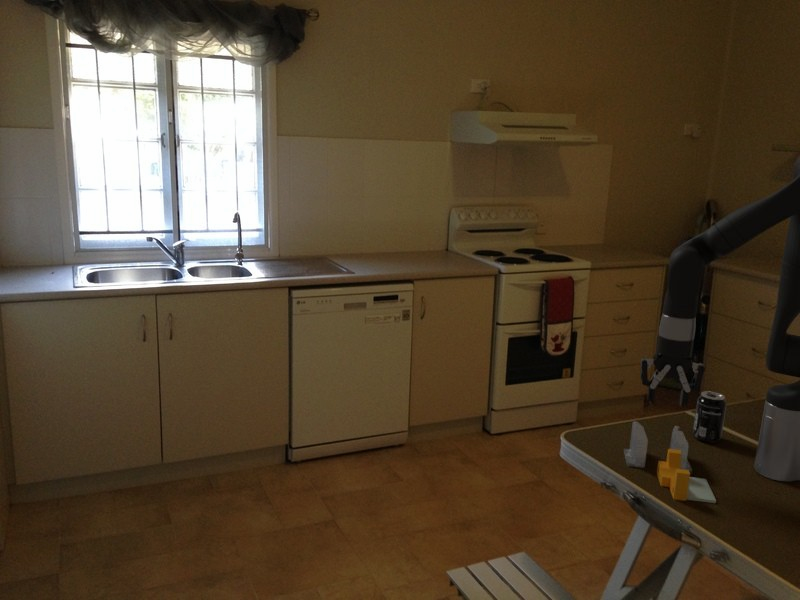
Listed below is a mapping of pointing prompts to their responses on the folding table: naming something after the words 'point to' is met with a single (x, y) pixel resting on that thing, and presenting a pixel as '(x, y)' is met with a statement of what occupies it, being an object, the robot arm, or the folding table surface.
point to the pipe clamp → (674, 475)
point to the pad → (700, 490)
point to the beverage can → (709, 416)
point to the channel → (639, 447)
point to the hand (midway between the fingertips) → (666, 404)
